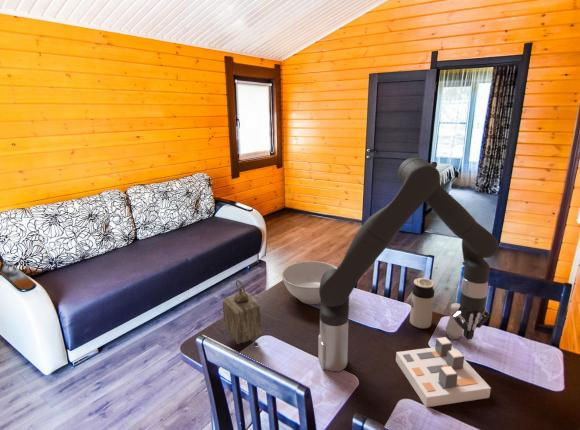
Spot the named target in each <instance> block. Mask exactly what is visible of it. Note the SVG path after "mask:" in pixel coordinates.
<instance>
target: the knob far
mask: <svg viewBox="0 0 580 430" xmlns="http://www.w3.org/2000/svg"><path fill="white" fill-rule="evenodd" d="M434 347H435V350H436V351H437V352H438V354H439V355H440V356H447V351H451V348H452V347H453V344H452V342H451V341H450V340H449V339H448V337H446V336H444V337H437V338H436V339H435V346H434Z"/></svg>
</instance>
